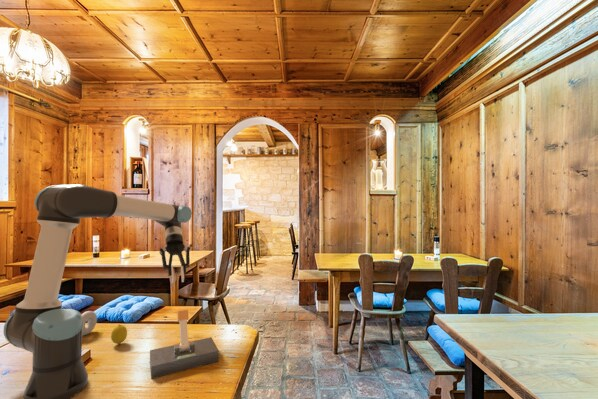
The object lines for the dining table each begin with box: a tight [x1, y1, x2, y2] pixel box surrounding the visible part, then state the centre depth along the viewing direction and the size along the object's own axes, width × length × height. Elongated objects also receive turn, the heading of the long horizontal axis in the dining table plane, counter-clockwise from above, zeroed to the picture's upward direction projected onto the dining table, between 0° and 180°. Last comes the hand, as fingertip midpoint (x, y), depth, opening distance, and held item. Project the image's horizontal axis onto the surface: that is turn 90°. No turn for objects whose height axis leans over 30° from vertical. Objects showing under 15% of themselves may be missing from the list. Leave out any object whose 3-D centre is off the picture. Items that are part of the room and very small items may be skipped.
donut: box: [80, 310, 98, 337], centre depth 127 cm, size 10×4×10 cm, turn 175°
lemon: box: [110, 324, 128, 345], centre depth 119 cm, size 6×6×8 cm
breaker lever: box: [176, 309, 189, 351], centre depth 109 cm, size 4×3×14 cm
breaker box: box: [149, 336, 220, 379], centre depth 106 cm, size 22×12×6 cm, turn 119°
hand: (178, 280), depth 125 cm, fingers open, 3 cm apart
